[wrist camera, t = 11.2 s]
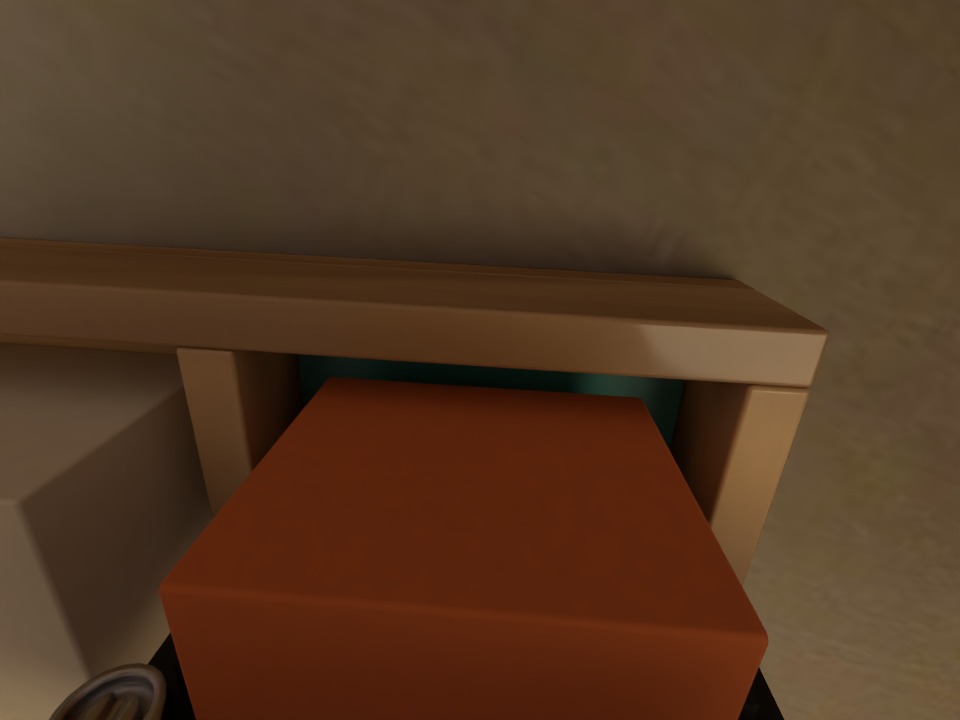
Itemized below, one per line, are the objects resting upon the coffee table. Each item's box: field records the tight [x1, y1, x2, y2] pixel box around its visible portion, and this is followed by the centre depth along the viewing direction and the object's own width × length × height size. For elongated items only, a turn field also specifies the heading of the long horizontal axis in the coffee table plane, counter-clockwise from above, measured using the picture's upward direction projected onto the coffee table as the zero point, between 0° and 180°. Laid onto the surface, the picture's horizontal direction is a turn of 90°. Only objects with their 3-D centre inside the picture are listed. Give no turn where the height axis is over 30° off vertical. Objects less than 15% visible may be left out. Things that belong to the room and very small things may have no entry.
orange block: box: [159, 377, 768, 720], centre depth 8 cm, size 7×6×5 cm
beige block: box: [0, 343, 213, 720], centre depth 10 cm, size 6×7×5 cm
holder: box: [0, 238, 829, 586], centre depth 11 cm, size 10×20×3 cm, turn 87°
